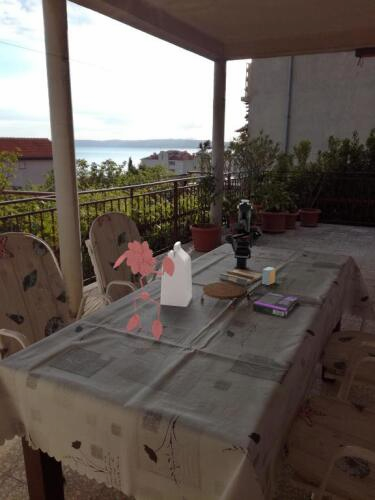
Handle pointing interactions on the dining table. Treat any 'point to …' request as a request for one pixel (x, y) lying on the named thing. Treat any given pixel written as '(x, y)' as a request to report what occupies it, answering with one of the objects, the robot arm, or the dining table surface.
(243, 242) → the robot arm
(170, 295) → the milk
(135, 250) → the figurine
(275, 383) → the dining table surface
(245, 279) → the shelf
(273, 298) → the box
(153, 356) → the dining table surface
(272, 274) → the carton
